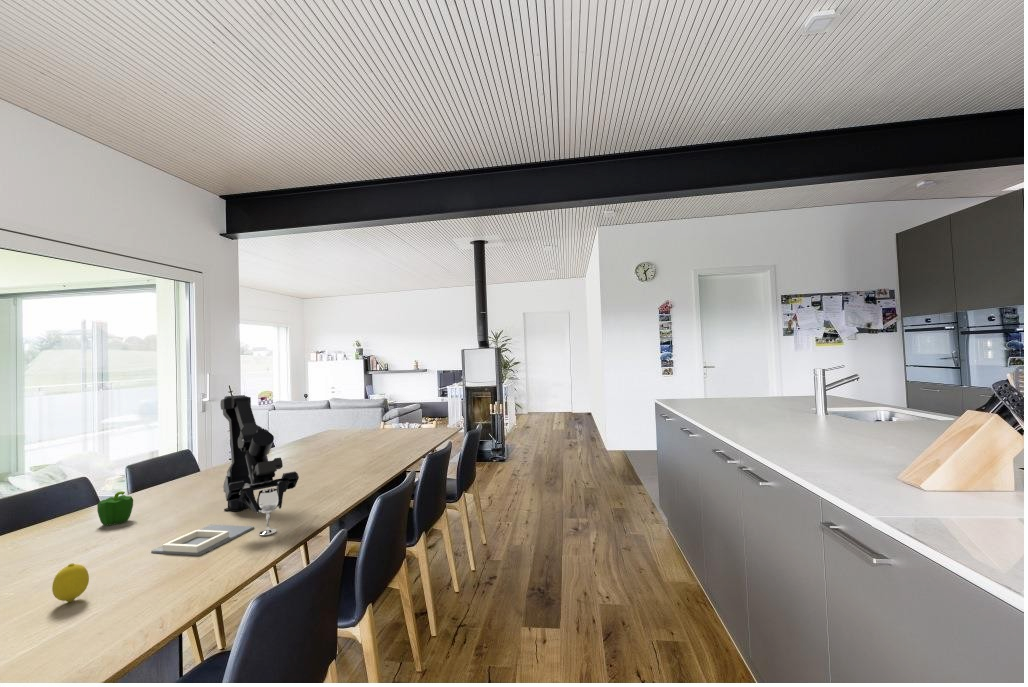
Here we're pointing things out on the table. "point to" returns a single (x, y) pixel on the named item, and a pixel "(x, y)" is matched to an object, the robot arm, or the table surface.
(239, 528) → the square frame board
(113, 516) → the bell pepper
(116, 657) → the table surface
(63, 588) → the lemon
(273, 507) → the wineglass
